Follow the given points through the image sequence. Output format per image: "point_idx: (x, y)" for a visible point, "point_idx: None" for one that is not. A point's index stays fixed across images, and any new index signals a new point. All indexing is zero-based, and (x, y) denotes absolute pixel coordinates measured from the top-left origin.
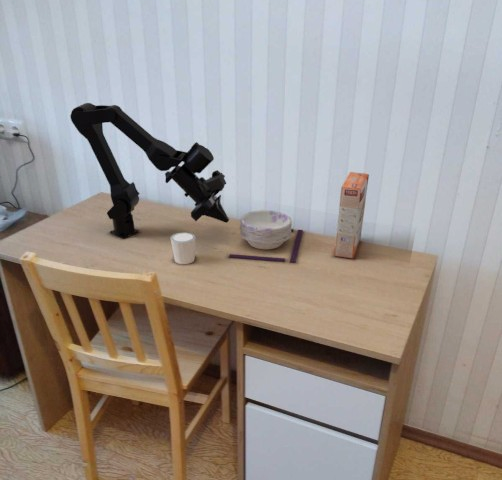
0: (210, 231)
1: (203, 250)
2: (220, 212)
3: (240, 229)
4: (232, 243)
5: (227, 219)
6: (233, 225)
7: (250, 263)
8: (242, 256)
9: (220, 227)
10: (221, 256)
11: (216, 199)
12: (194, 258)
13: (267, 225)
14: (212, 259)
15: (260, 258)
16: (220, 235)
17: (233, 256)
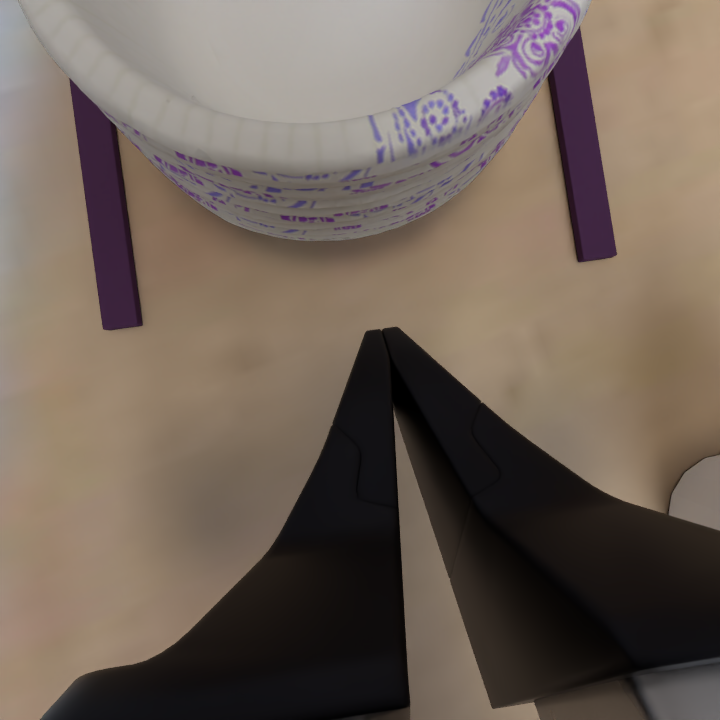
0: (260, 532)
1: (565, 455)
2: (492, 421)
3: (432, 195)
4: (401, 311)
5: (406, 335)
6: (106, 412)
7: (638, 105)
8: (588, 171)
9: (170, 490)
10: (608, 310)
11: (404, 714)
12: (715, 458)
13: (204, 24)
14: (666, 348)
15: (577, 53)
16: (303, 437)
17: (608, 226)
